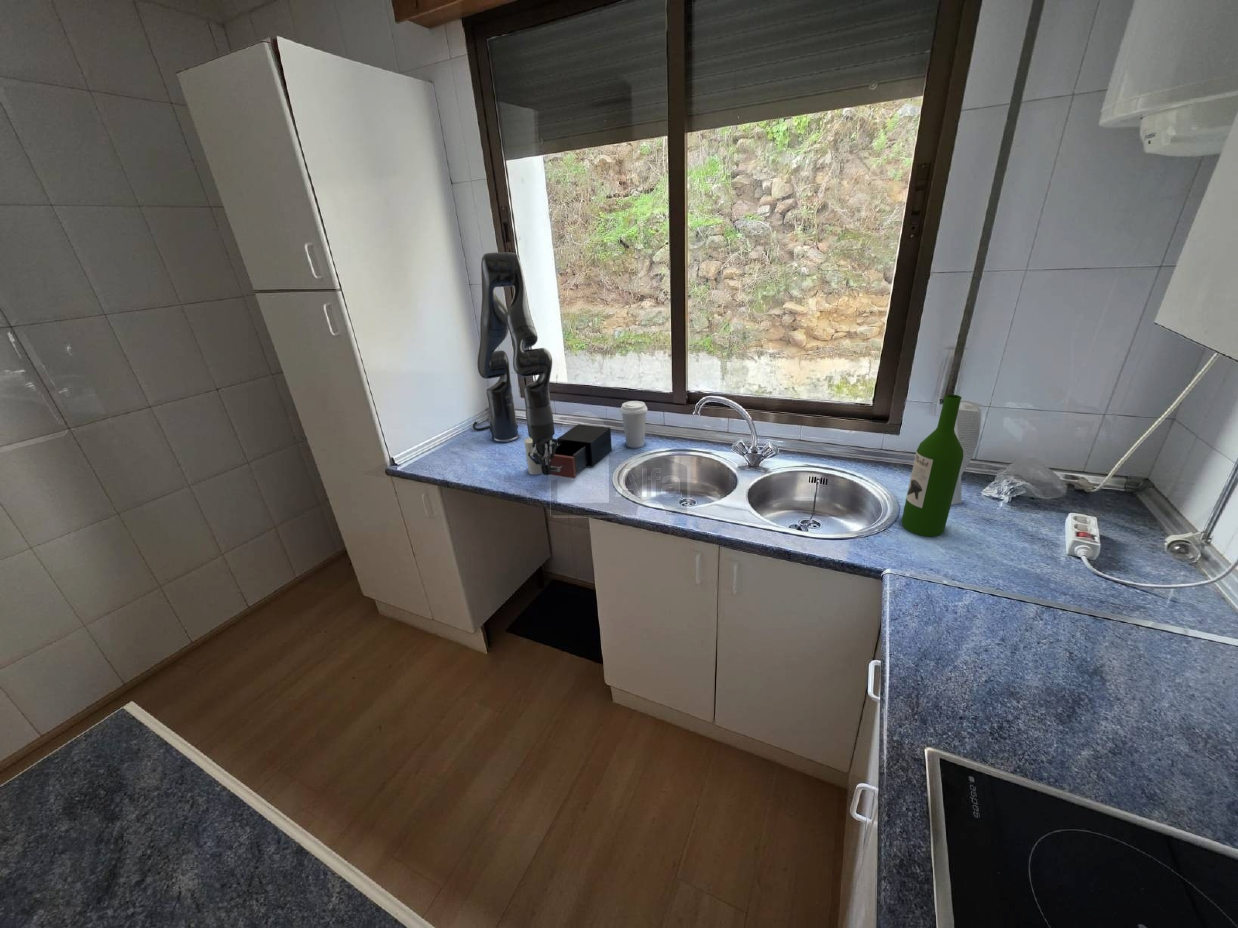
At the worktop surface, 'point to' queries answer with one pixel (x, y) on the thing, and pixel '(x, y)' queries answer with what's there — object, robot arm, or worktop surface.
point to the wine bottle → (934, 475)
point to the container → (532, 467)
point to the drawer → (569, 459)
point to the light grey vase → (966, 437)
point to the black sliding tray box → (590, 440)
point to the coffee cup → (634, 422)
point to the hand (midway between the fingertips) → (546, 474)
